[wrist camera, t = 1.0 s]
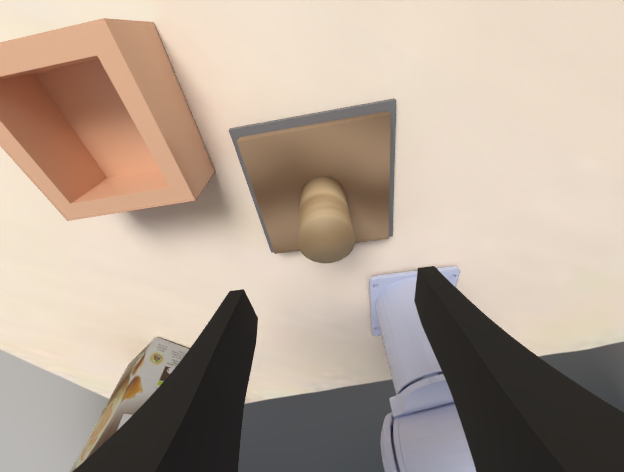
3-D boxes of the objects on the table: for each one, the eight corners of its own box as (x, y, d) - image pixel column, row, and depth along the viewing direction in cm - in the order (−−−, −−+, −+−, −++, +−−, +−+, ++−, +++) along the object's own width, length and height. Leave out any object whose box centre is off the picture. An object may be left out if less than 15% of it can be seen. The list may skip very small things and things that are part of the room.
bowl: (215, 171, 18) (195, 200, 15) (108, 189, 19) (67, 220, 15) (153, 22, 13) (103, 18, 10) (12, 54, 14) (-77, 60, 11)
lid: (386, 232, 21) (408, 288, 16) (275, 247, 22) (267, 304, 17) (387, 110, 15) (421, 143, 11) (239, 137, 16) (212, 178, 12)
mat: (391, 233, 21) (392, 236, 21) (272, 249, 22) (271, 252, 22) (394, 98, 15) (396, 100, 15) (230, 128, 16) (228, 130, 16)
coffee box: (155, 334, 30) (41, 556, 17) (206, 353, 33) (140, 558, 20) (126, 364, 34) (18, 561, 21) (174, 379, 37) (103, 562, 24)
